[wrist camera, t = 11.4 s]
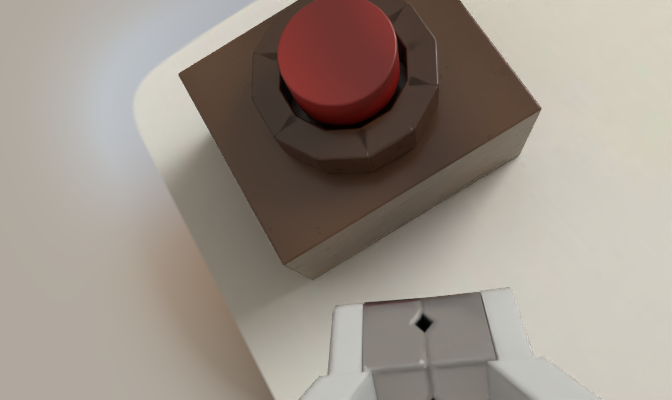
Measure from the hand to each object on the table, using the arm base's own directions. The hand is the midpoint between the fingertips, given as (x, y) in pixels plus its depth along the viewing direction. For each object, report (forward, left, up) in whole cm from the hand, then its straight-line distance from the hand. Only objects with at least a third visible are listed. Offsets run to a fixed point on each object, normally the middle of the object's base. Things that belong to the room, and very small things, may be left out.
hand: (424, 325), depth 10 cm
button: (+3, +10, -11) cm, 15 cm away
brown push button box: (+3, +10, -18) cm, 21 cm away
